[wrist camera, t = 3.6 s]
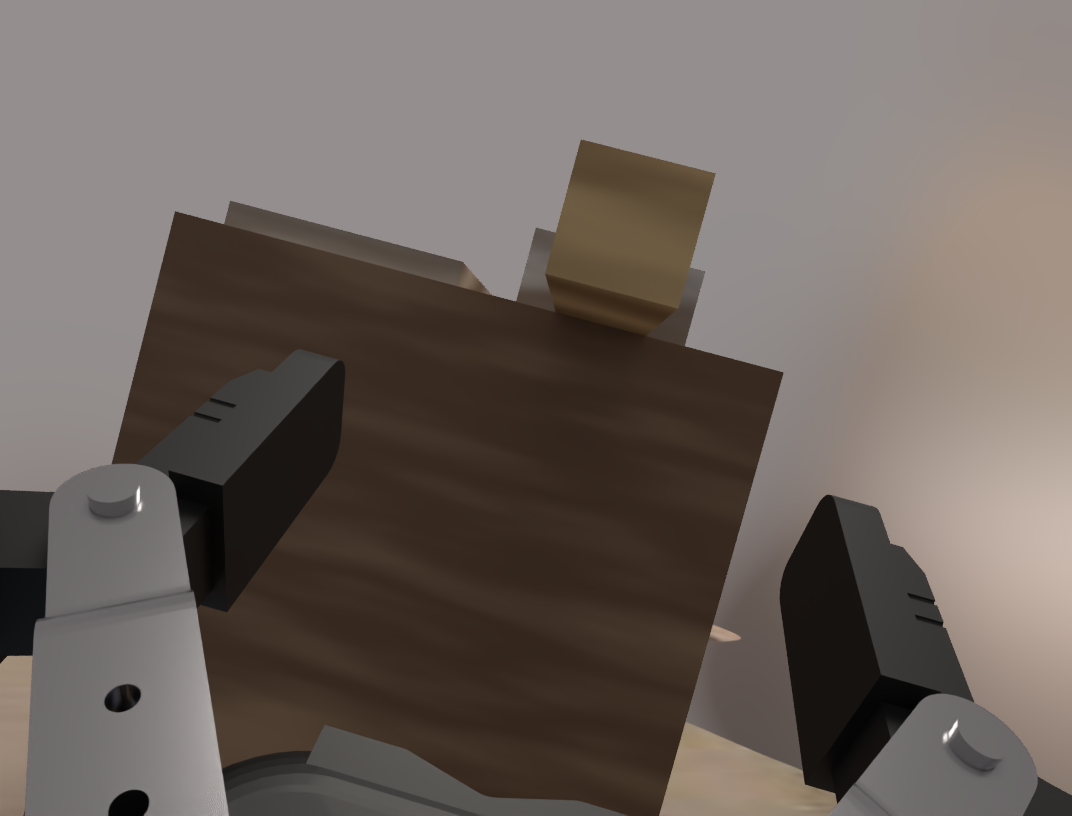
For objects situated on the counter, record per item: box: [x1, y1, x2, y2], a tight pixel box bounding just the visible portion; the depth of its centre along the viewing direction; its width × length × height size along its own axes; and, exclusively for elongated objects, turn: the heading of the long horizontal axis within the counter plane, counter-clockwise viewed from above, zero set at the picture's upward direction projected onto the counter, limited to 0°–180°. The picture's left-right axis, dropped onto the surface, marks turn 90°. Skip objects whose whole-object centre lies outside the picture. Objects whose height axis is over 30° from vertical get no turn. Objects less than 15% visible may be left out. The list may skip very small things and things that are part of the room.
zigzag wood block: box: [24, 201, 783, 816], centre depth 36 cm, size 14×24×33 cm, turn 87°
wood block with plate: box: [516, 140, 715, 346], centre depth 30 cm, size 22×9×5 cm, turn 177°
